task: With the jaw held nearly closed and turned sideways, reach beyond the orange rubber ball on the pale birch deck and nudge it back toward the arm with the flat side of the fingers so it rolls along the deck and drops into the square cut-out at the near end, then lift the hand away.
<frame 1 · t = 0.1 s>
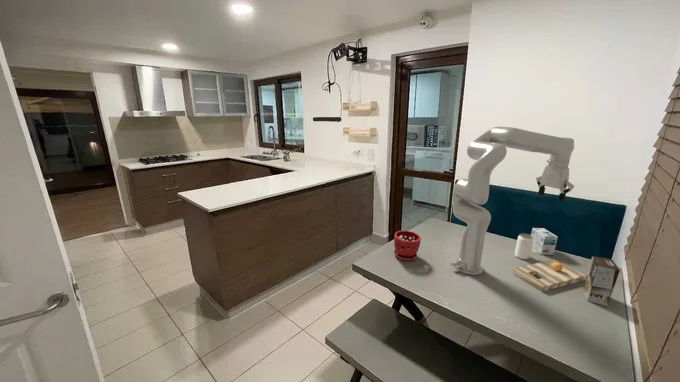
hand: (550, 197, 134), 31 cm above the table, fingers open, 9 cm apart
light bulb box: (540, 250, 146), on the table
ball: (557, 266, 123), point 4 cm above the table, touching deck
coffee box: (594, 297, 109), on the table
deck: (547, 276, 123), on the table
plant pot: (405, 256, 141), on the table
can: (521, 256, 140), on the table
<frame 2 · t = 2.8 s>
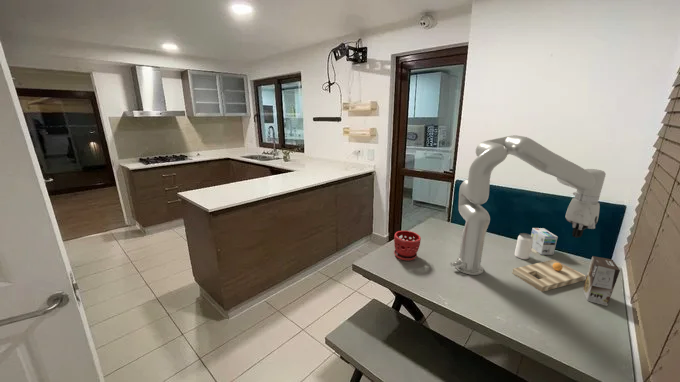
hand: (576, 236, 121), 19 cm above the table, fingers closed
nothing on the table moved.
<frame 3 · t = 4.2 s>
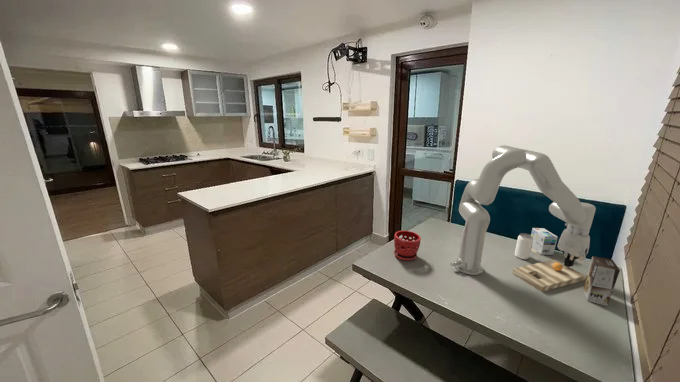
hand: (567, 265, 125), 3 cm above the table, fingers closed
nothing on the table moved.
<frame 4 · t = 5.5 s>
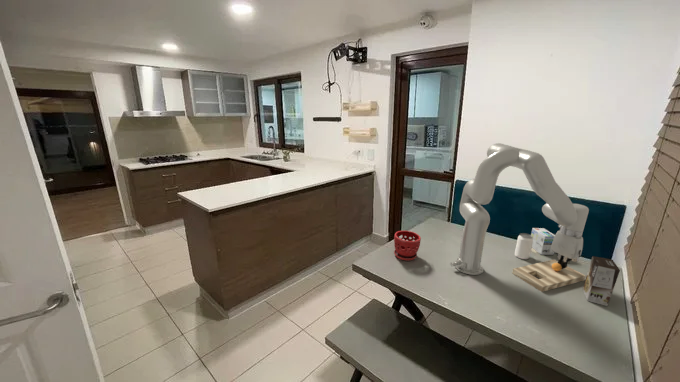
hand: (561, 267, 124), 3 cm above the table, fingers closed
ball: (556, 266, 123), point 4 cm above the table, tilted 17°, touching deck
everything else where it was.
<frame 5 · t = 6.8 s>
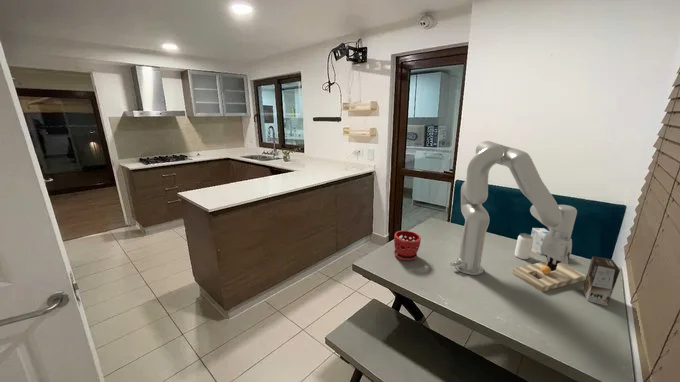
hand: (551, 269, 122), 4 cm above the table, fingers closed
ball: (545, 269, 121), point 4 cm above the table, tilted 138°, touching gripper
everything else where it was.
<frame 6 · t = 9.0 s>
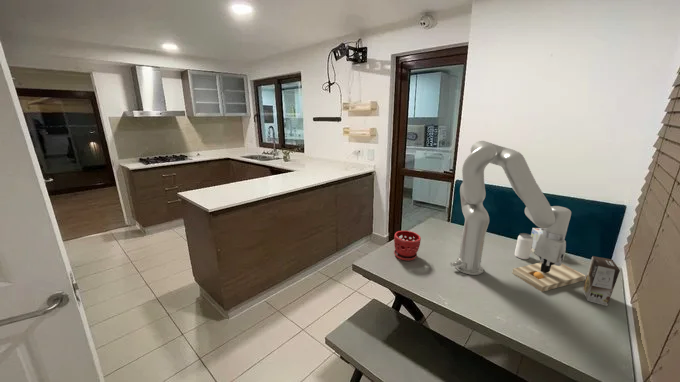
hand: (544, 271, 121), 3 cm above the table, fingers closed
ball: (538, 276, 120), point 2 cm above the table, tilted 106°
everything else where it was.
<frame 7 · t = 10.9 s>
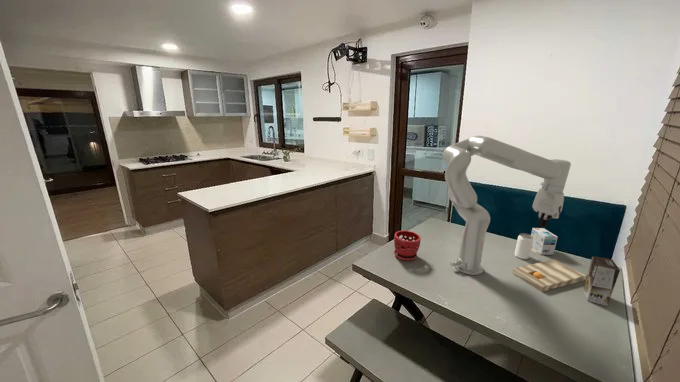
hand: (541, 226, 123), 22 cm above the table, fingers closed
ball: (537, 276, 120), point 2 cm above the table, tilted 96°
everything else where it was.
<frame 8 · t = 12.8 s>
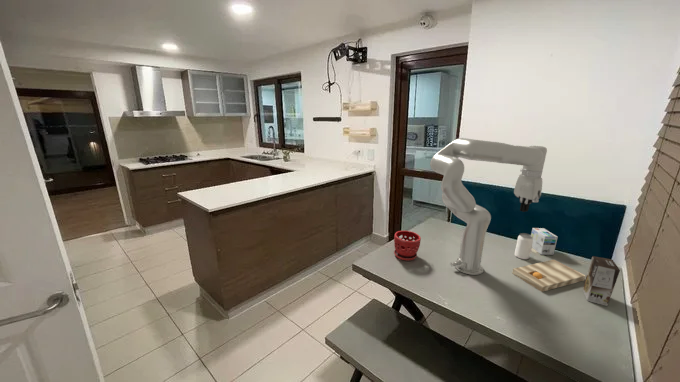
hand: (523, 210, 128), 27 cm above the table, fingers closed
ball: (537, 276, 120), point 2 cm above the table, tilted 86°
everything else where it was.
at the end: ball 0.2 cm from the target spot on the deck, point 1.8 cm above the deck's base; ball point 1.8 cm above the table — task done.
